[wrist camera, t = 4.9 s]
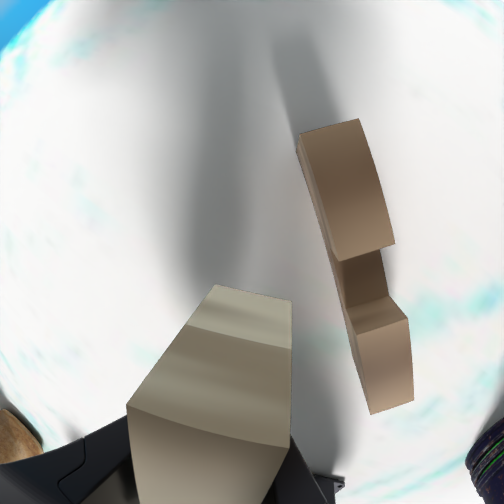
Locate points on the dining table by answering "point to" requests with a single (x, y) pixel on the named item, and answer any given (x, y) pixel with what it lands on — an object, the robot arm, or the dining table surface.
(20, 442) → the stone cup
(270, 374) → the beech board
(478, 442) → the storage jar
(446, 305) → the dining table surface
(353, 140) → the walnut board
